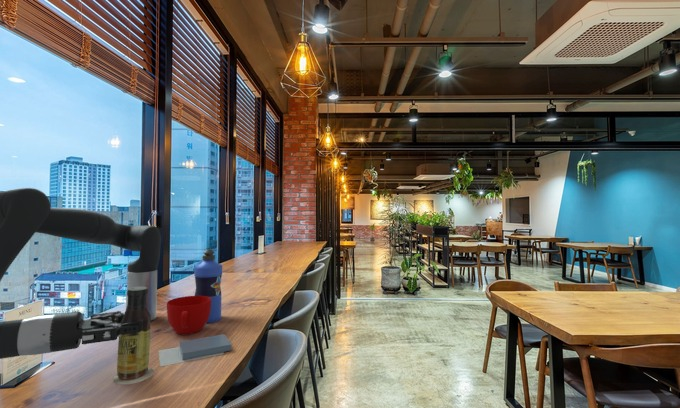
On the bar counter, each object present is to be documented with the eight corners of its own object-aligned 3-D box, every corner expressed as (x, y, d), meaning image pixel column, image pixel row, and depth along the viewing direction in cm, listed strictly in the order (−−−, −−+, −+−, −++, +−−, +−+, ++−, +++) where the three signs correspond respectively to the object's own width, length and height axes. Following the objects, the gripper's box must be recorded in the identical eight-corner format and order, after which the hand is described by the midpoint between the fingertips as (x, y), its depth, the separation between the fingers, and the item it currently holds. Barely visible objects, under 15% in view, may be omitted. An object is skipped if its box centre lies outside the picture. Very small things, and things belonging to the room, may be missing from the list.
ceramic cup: (157, 346, 95) (158, 310, 95) (171, 327, 111) (171, 296, 111) (206, 342, 98) (207, 307, 99) (212, 324, 115) (213, 294, 115)
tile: (182, 353, 85) (231, 344, 91) (179, 341, 93) (224, 334, 99) (182, 360, 85) (231, 350, 91) (179, 348, 93) (224, 340, 99)
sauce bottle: (109, 379, 75) (112, 289, 76) (134, 367, 81) (136, 284, 81) (132, 383, 73) (134, 291, 74) (156, 371, 79) (157, 286, 80)
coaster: (105, 380, 75) (105, 378, 75) (141, 366, 82) (141, 364, 82) (125, 389, 71) (125, 387, 71) (161, 374, 78) (161, 372, 78)
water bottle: (226, 316, 124) (227, 248, 124) (214, 324, 114) (215, 250, 115) (201, 315, 125) (203, 247, 125) (188, 323, 115) (189, 250, 116)
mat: (160, 368, 82) (160, 366, 82) (158, 352, 91) (158, 350, 91) (224, 355, 89) (224, 353, 89) (216, 341, 99) (216, 340, 99)
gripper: (43, 324, 64) (142, 312, 72) (59, 306, 76) (142, 298, 84) (42, 364, 64) (141, 347, 72) (58, 340, 76) (142, 328, 84)
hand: (142, 321), depth 78 cm, fingers open, 8 cm apart
